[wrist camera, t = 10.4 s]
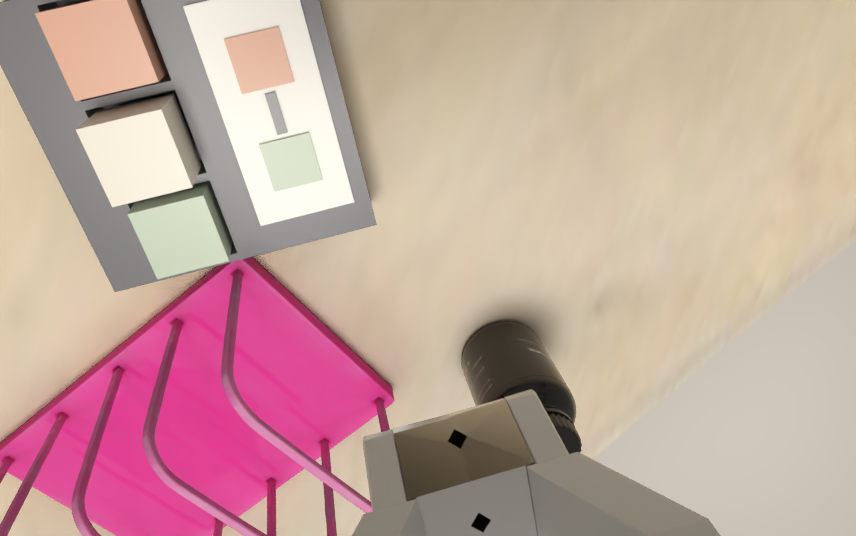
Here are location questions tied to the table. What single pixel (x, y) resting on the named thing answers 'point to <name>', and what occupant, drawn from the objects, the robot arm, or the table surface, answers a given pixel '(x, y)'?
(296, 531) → the table surface
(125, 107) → the block
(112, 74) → the key terracotta
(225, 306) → the file sorter
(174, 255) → the key sage
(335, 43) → the table surface
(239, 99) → the keypad base
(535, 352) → the supplement bottle
